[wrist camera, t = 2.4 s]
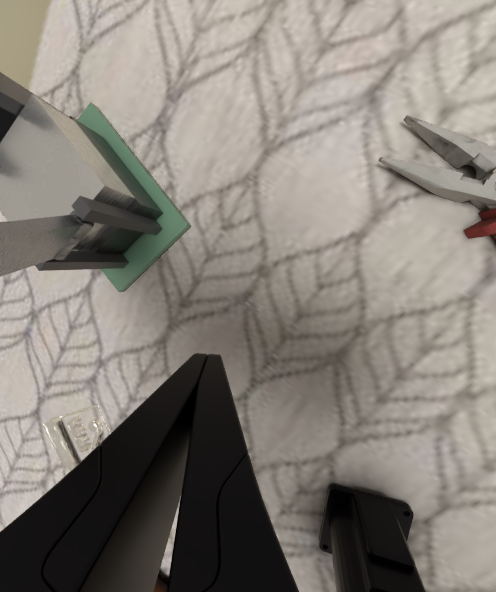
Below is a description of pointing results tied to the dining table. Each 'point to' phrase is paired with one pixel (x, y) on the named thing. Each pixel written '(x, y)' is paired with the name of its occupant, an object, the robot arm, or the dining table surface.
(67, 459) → the clear plastic blister pack
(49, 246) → the grey hinged lever
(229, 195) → the dining table surface
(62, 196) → the heat sink
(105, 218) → the socket board
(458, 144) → the pliers
